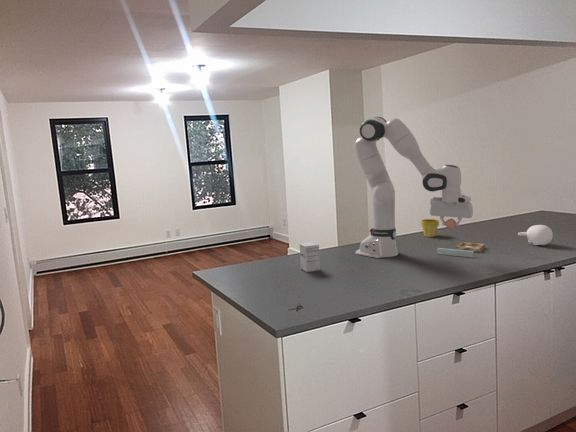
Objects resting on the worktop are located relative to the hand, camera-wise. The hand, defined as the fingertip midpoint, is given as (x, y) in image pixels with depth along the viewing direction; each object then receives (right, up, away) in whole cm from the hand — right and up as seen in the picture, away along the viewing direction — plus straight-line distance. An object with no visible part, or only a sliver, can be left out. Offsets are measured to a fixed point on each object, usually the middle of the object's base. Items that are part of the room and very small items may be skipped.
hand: (450, 225), depth 237 cm
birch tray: (+17, -13, +20) cm, 30 cm away
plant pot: (+7, -8, +58) cm, 59 cm away
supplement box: (-70, -21, -6) cm, 73 cm away
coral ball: (0, +1, 0) cm, 1 cm away
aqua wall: (+5, -16, +8) cm, 18 cm away
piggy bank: (+55, -11, +24) cm, 61 cm away
